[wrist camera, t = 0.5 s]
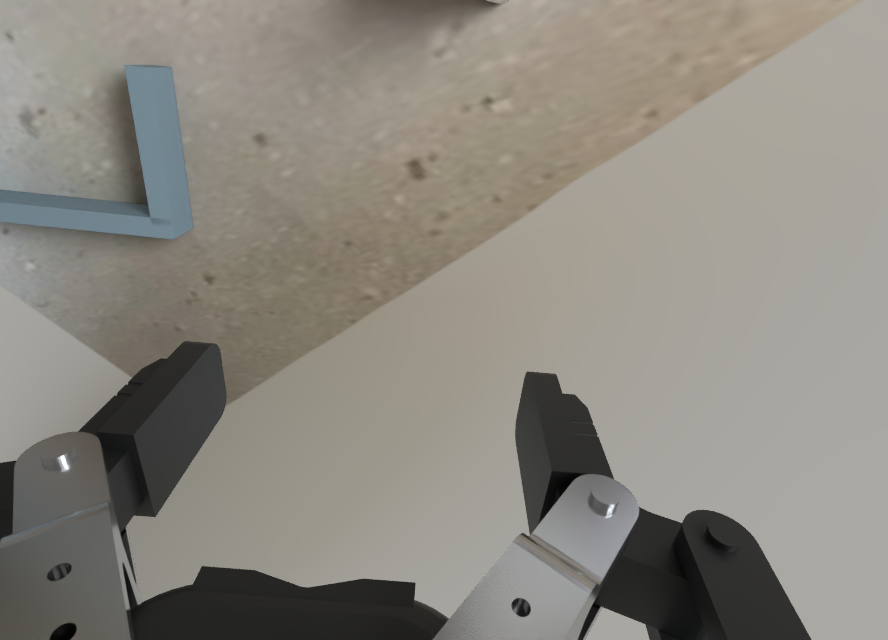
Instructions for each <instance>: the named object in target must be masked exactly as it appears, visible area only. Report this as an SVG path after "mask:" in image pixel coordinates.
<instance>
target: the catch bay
mask: <svg viewBox="0 0 888 640" xmlns="http://www.w3.org/2000/svg"><path fill="white" fill-rule="evenodd" d="M124 67H125V73H126V79H127V85H128V90H129V96H130V102H131V108H132V114H133V119H134V125H135V131H136V137H137V143H138V148H139V154H140V160H141V166H142V171H143V177H144V183H145V189H146V195H147V200H148V205H144V204H134V203H124V202H114V201H105V200H95V199H85V198H75V197H66V196H56V195H46V194H36V193H27V192H17V191H7V190H0V222H7V223H17V224H27V225H37V226H46V227H56V228H66V229H76V230H86V231H96V232H106V233H116V234H126V235H136V236H145V237H155V238H165V239H176V238H177V237H179V236H181V235H182V234H184V233H185V232H187V231H189V230H190V229H192V228H193V223H192V216H191V208H190V201H189V194H188V186H187V179H186V171H185V164H184V156H183V149H182V142H181V134H180V127H179V119H178V112H177V104H176V97H175V89H174V82H173V75H172V67H162V66H153V65H124Z"/></svg>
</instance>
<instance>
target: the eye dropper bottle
mask: <svg viewBox="0 0 888 640" xmlns="http://www.w3.org/2000/svg"><path fill="white" fill-rule="evenodd" d="M486 1H489V2H493V3H499V4H503V3H507V2H508V1H509V0H486Z"/></svg>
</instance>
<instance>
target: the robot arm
mask: <svg viewBox="0 0 888 640" xmlns="http://www.w3.org/2000/svg"><path fill="white" fill-rule="evenodd" d="M225 404H226V387H225V381H224V374H223V367H222V360H221V353H220V349H219V347H218V345H217V344H212V343H201V342H189V341H185V342H183V343H182V344H181V345H180V346H179V347H178V348H177V349H176V350H175V351H174V352H173V353H172V354H171V355H170V356H169V357H168V358H167V359H162V358H161V359H159V360H157V361H156V362H154V363H152V364H150V365H148V366H146V367H144V368H143V369H141V370H140V371H139V372H138V373H137V374H136V375H135V376H134V377H133V378H132V379H131V380H130V381H129V382H128V385H125V386H124V387H123V388H122V389H121V390H120V391H119V392H118V394H117V396H114V397H113V398H112V399H111V400H110V401H109V402H108V403H107V404H106V405H105V406H104V407H102V409H101V410H99V412H98V413H96V414H95V416H93V417H92V418H91V419H90V420H89V421H88V422H87V423H86V424H85V425H84V426H83V427H82V428H81V429H80V430H79V431H78V432H68V433H63V434H59V435H55V436H52V437H49V438H47V439H44V440H42V441H40V442H38V443H36V444H34V445H33V446H31V447H30V448H29V449H27V450H26V451H25V452H24V453H23V454H21V456H20V457H19V458H18V459H17V461H11V462H4V463H0V640H585V639H586V637H587V635H588V633H589V632H590V630H591V628H592V626H593V624H594V622H595V620H596V618H597V617H598V615H599V613H600V611H601V609H602V607H604V608H607V609H609V610H611V611H614V612H616V613H619V614H621V615H624V616H626V617H629V618H631V619H634V620H636V621H639V622H642V623H644V624H646V628H647V631H648V635H649V639H650V640H811V638H810V636H809V634H808V633H807V631H806V629H805V627H804V625H803V624H802V622H801V620H800V618H799V616H798V615H797V613H796V611H795V609H794V607H793V606H792V604H791V602H790V600H789V598H788V597H787V595H786V593H785V591H784V589H783V588H782V586H781V584H780V582H779V580H778V579H777V577H776V575H775V573H774V571H773V570H772V568H771V566H770V564H769V562H768V561H767V559H766V557H765V555H764V553H763V551H762V550H761V548H760V546H759V544H758V543H757V541H756V540H755V538H754V537H753V536H752V535H751V533H750V532H748V530H746V529H745V528H744V527H743V526H742V525H740V524H739V523H738V522H736V521H734V520H733V519H731V518H729V517H727V516H725V515H723V514H720V513H717V512H714V511H709V510H696V511H693V512H691V513H689V514H688V515H687V516H686V517H685V519H684V520H683V523H680V522H677V521H674V520H671V519H668V518H665V517H661V516H659V515H656V514H653V513H651V512H648V511H646V510H644V509H642V508H640V507H639V506H638V503H637V500H636V498H635V497H634V495H633V494H632V493H631V492H630V491H629V490H628V489H627V488H626V487H625V486H624V485H622V484H621V483H619V482H618V481H616V480H614V478H613V475H612V472H611V470H610V467H609V464H608V462H607V459H606V456H605V454H604V451H603V448H602V445H601V443H600V440H599V437H597V432H596V429H595V427H594V425H593V421H592V419H591V416H590V413H589V411H588V408H587V407H586V406H585V405H584V404H583V403H582V402H581V401H580V400H579V399H578V397H577V396H575V395H572V394H562V391H561V388H560V384H559V381H558V378H557V375H556V374H550V373H539V372H527V373H526V375H525V378H524V383H523V388H522V393H521V398H520V404H519V409H518V414H517V419H516V430H515V438H516V447H517V453H518V460H519V466H520V473H521V479H522V485H523V492H524V499H525V505H526V511H527V519H528V525H529V531H530V536H529V537H528V536H527V535H525V534H524V533H522V534H520V535H519V536H517V537H516V538H515V539H514V541H513V542H512V543H511V544H510V545H509V547H508V548H507V549H506V550H505V551H504V553H503V554H502V555H501V556H500V558H499V559H498V560H497V561H496V562H495V564H494V565H493V566H492V567H491V569H490V570H489V571H488V573H486V575H485V576H484V577H483V578H482V580H481V581H480V582H479V583H478V584H477V586H476V587H475V588H474V590H473V591H472V592H471V593H470V594H469V595H468V597H467V598H466V599H465V600H464V602H463V603H462V604H461V605H460V607H459V608H458V609H457V610H456V612H455V613H454V614H453V615H452V616H451V617H450V619H448V618H447V617H446V616H444V615H443V614H441V613H440V612H438V611H437V610H435V609H433V608H431V607H429V606H427V605H425V604H423V603H421V602H418V601H415V600H414V595H415V583H412V582H398V581H386V580H373V579H372V580H371V579H359V580H354V581H347V582H341V583H335V584H328V585H323V586H316V587H310V588H306V587H300V586H297V585H295V584H292V583H289V582H286V581H283V580H281V579H278V578H275V577H272V576H269V575H266V574H264V573H261V572H258V571H255V570H244V569H231V568H218V567H217V568H216V567H205V566H204V567H203V566H202V567H201V569H200V572H199V573H198V576H197V577H196V579H195V581H194V583H193V585H187V586H184V587H180V588H176V589H173V590H170V591H167V592H165V593H162V594H159V595H157V596H155V597H153V598H151V599H148V600H146V601H144V602H142V598H141V594H140V588H139V583H138V578H137V573H136V569H135V563H134V558H133V553H132V548H131V544H130V538H129V534H128V531H127V527H126V526H127V524H128V523H129V521H130V520H131V518H132V517H133V516H134V515H136V516H149V517H156V515H157V514H158V512H159V510H160V509H161V508H162V506H163V504H164V503H165V501H166V500H167V498H168V497H169V495H170V494H171V492H172V491H173V489H174V488H175V486H176V485H177V483H178V482H179V480H180V479H181V477H182V476H183V474H184V473H185V471H186V469H187V468H188V466H189V465H190V463H191V462H192V460H193V459H194V457H195V456H196V454H197V453H198V451H199V450H200V448H201V447H202V445H203V444H204V442H205V440H206V439H207V438H208V436H209V434H210V433H211V431H212V430H213V428H214V427H215V425H216V424H217V422H218V421H219V419H220V418H221V416H222V414H223V411H224V408H225Z"/></svg>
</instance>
